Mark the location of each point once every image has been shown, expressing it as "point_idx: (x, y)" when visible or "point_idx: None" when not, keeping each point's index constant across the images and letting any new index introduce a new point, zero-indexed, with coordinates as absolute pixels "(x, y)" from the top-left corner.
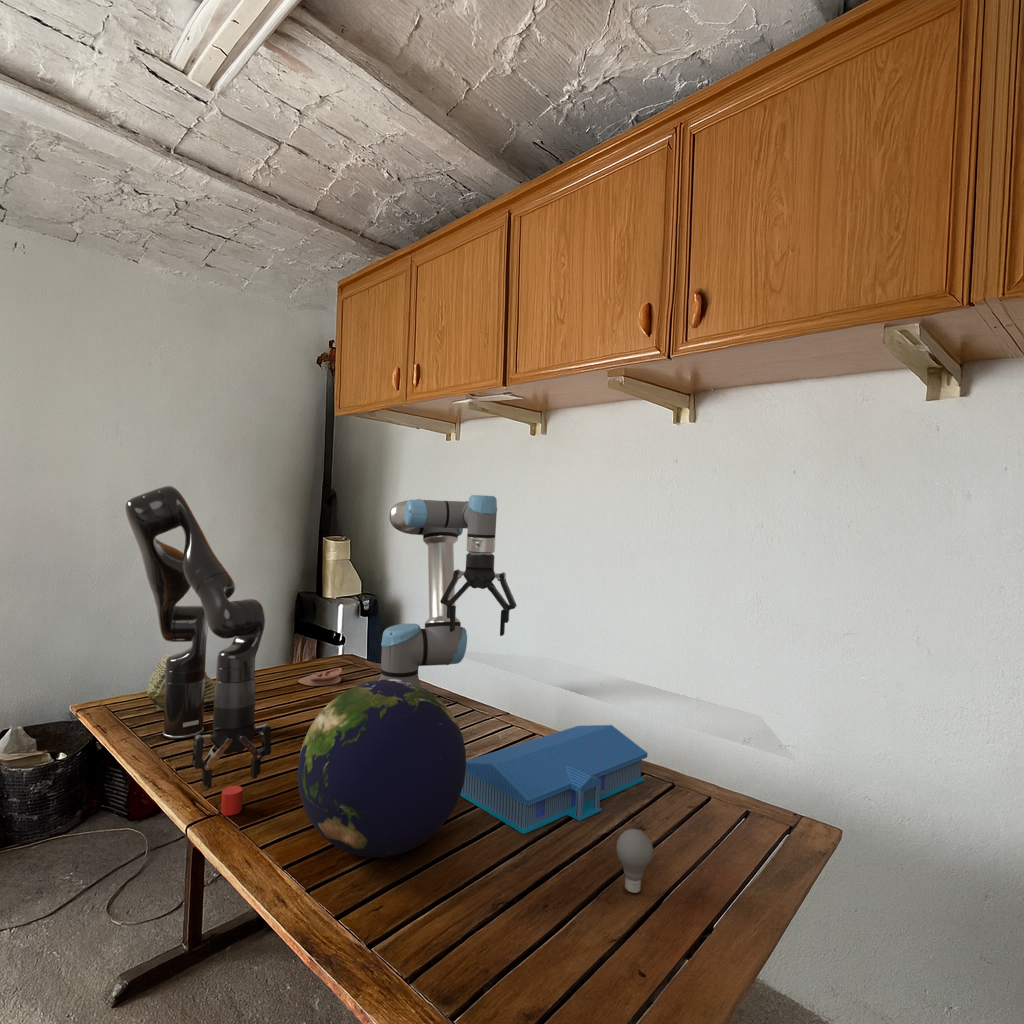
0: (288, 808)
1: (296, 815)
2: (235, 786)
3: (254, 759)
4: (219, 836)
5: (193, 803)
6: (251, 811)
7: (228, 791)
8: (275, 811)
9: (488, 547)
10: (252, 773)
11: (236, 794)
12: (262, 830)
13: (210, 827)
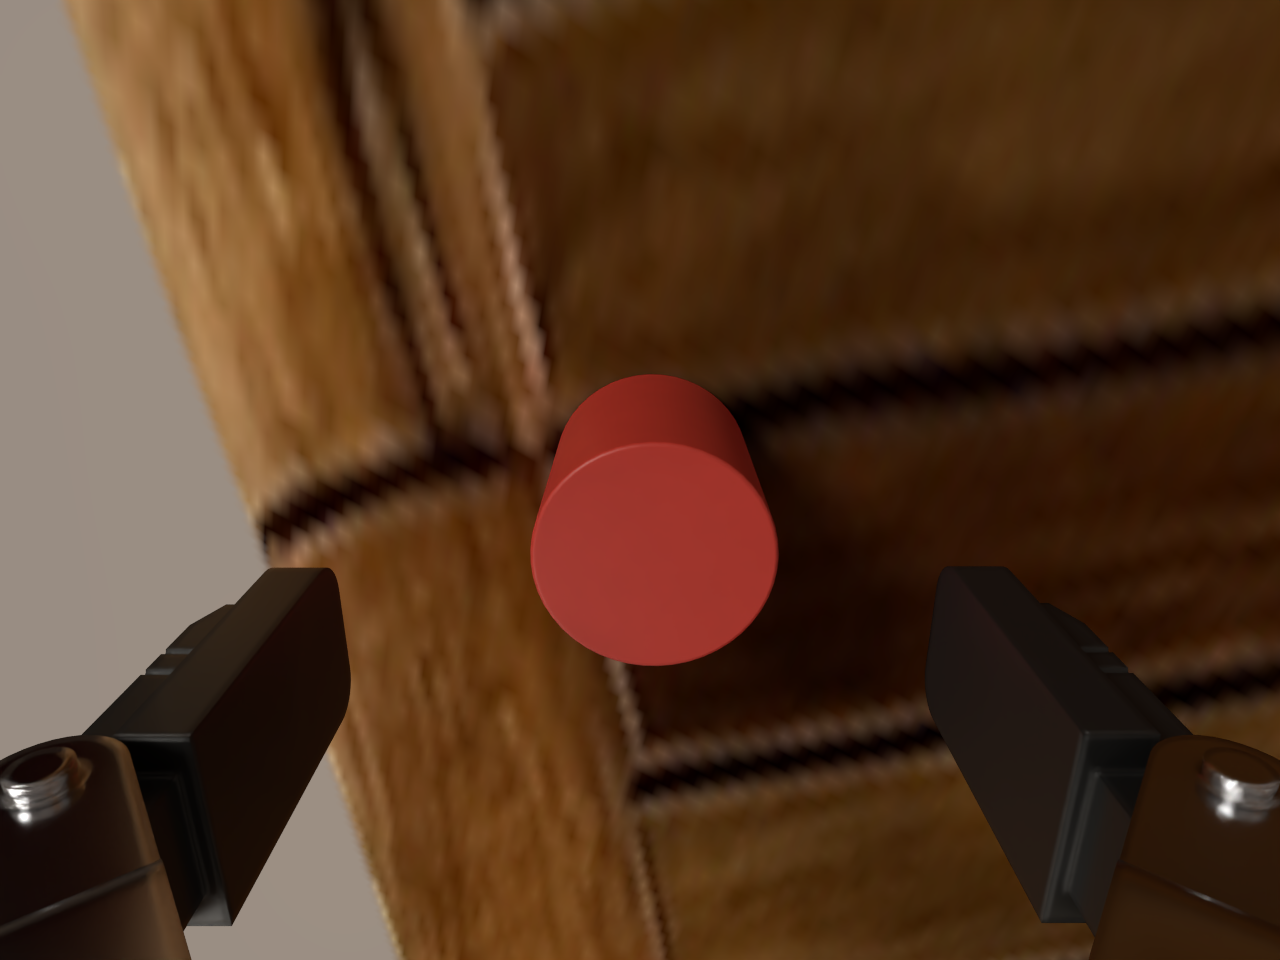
0: None
1: None
2: (715, 488)
3: (1078, 882)
4: (474, 806)
5: (326, 61)
6: (805, 563)
7: (603, 578)
8: None
9: None
10: (953, 672)
11: (673, 660)
12: (770, 873)
13: (431, 652)
